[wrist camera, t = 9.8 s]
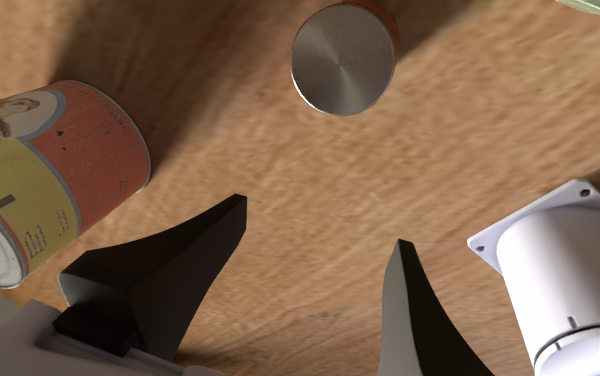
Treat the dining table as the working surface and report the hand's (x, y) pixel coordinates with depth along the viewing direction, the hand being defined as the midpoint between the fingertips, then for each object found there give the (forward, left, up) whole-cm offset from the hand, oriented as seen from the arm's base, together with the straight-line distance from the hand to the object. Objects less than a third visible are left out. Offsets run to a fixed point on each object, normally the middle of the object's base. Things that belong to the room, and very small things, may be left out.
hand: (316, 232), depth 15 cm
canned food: (+17, +16, -10) cm, 25 cm away
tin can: (+4, -5, -9) cm, 12 cm away
